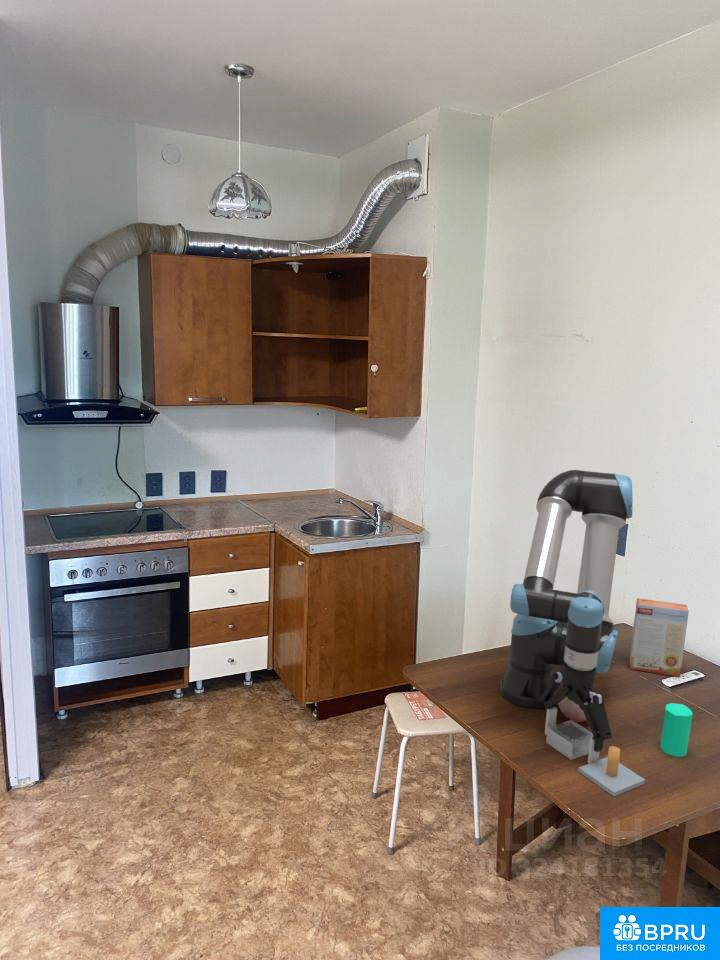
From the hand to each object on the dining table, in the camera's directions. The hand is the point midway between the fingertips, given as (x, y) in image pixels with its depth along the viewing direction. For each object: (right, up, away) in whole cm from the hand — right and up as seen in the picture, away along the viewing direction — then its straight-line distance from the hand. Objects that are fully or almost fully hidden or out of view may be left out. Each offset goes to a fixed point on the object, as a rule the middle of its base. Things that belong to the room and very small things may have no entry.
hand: (570, 747), depth 170 cm
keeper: (+6, -3, -11) cm, 13 cm away
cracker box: (+38, +7, +44) cm, 58 cm away
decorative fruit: (+5, +2, +12) cm, 13 cm away
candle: (+25, -1, +1) cm, 25 cm away
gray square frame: (0, 0, 0) cm, 0 cm away
